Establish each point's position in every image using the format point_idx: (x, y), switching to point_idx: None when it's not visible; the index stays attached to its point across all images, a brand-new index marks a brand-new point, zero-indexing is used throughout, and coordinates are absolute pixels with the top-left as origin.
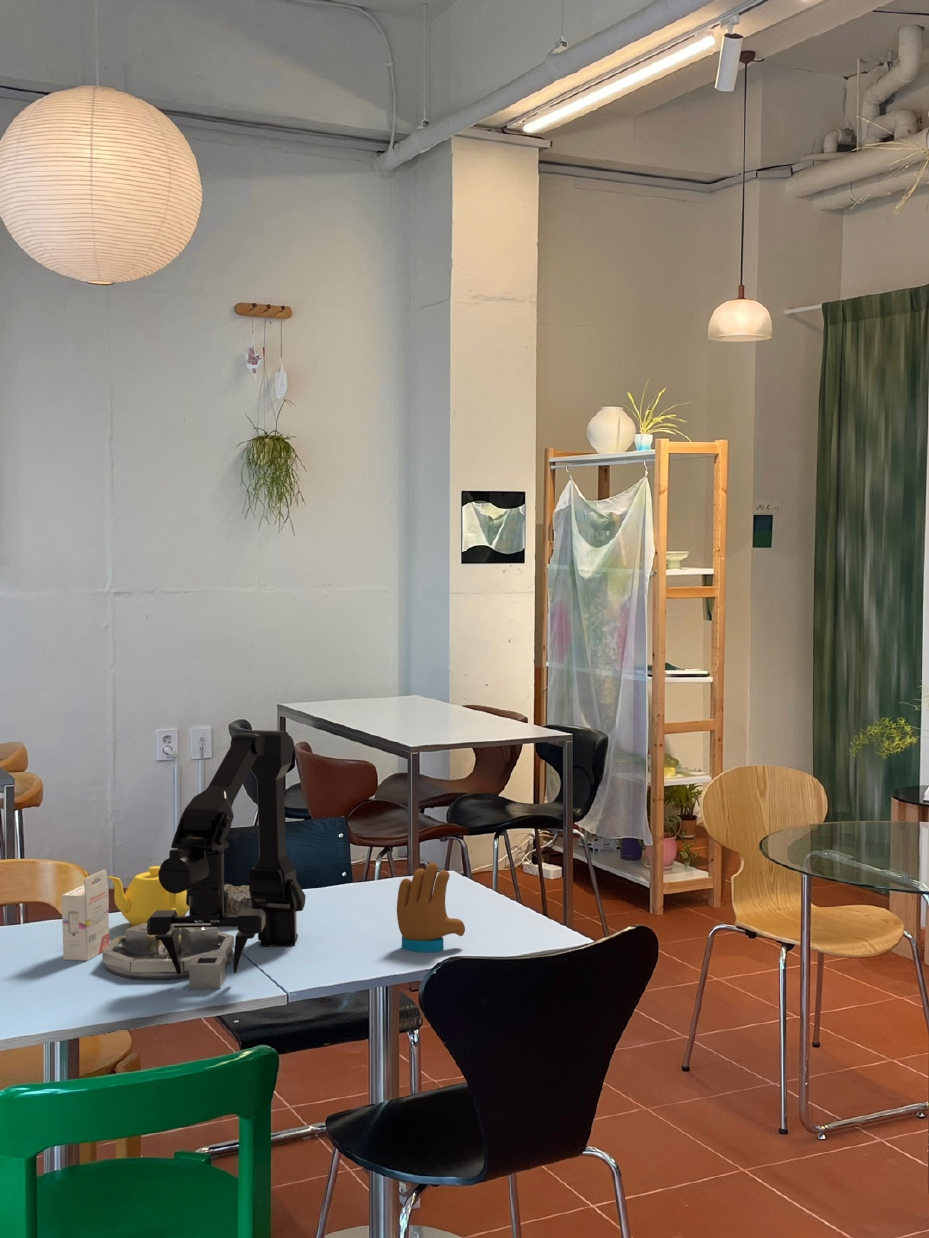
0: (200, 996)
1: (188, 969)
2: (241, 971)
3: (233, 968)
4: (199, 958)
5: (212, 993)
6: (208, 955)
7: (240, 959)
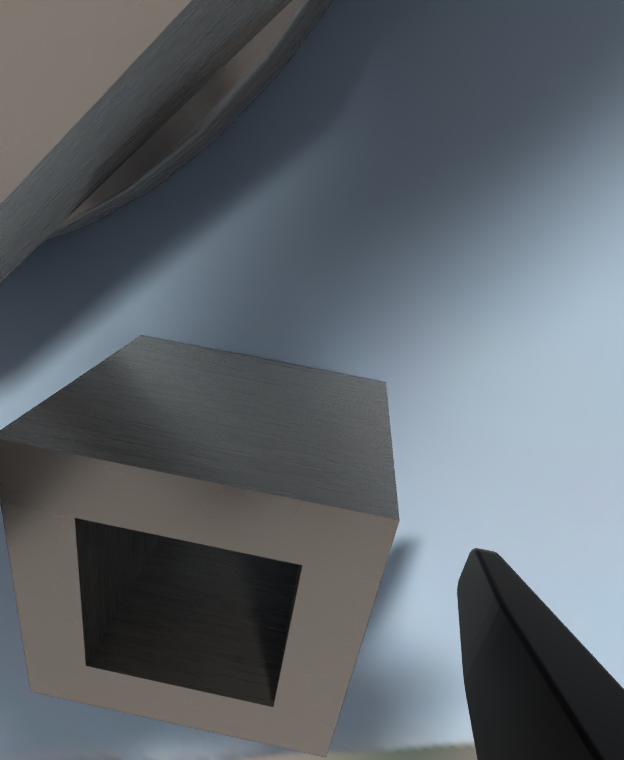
0: None
1: (23, 253)
2: (584, 153)
3: (462, 644)
4: (77, 523)
5: None
6: (161, 46)
7: (581, 651)
